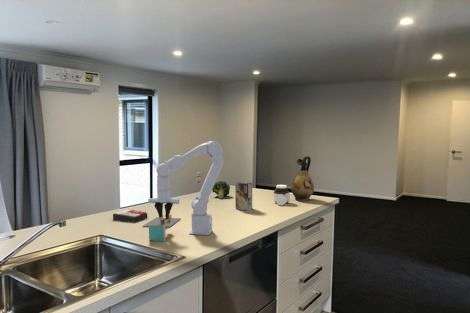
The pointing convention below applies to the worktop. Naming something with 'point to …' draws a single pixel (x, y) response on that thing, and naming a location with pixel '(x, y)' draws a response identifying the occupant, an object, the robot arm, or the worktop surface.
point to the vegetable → (221, 189)
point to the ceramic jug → (303, 181)
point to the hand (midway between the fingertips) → (164, 218)
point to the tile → (157, 232)
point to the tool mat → (157, 221)
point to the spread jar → (281, 194)
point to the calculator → (129, 215)
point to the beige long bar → (165, 221)
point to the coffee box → (243, 195)
